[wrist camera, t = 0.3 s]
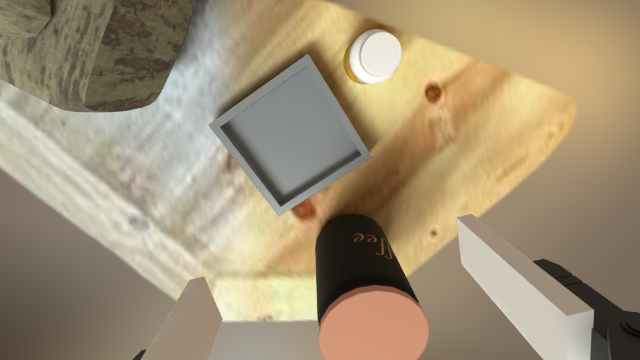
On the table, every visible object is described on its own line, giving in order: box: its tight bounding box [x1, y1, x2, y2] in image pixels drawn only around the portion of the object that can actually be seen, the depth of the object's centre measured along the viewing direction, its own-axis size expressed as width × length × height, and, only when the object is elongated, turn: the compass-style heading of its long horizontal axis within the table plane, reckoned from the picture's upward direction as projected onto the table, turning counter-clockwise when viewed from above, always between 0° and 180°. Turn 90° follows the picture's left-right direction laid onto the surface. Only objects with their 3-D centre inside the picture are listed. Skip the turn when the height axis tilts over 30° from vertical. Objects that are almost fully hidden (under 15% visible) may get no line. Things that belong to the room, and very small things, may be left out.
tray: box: [209, 54, 372, 216], centre depth 39 cm, size 15×15×2 cm
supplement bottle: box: [343, 29, 402, 84], centre depth 33 cm, size 5×5×10 cm
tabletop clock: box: [0, 0, 193, 112], centre depth 24 cm, size 14×9×25 cm, turn 150°
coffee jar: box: [315, 214, 429, 360], centre depth 37 cm, size 11×11×18 cm
